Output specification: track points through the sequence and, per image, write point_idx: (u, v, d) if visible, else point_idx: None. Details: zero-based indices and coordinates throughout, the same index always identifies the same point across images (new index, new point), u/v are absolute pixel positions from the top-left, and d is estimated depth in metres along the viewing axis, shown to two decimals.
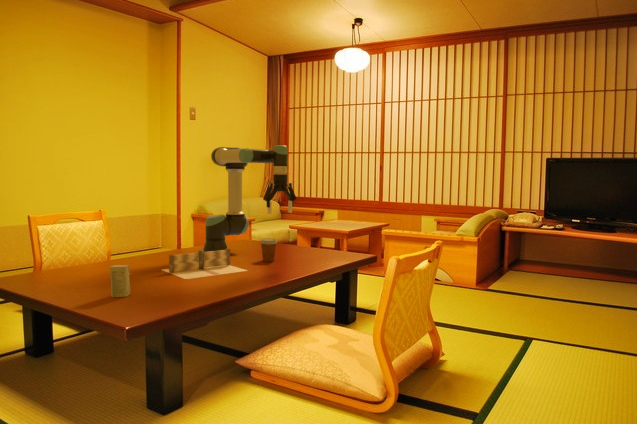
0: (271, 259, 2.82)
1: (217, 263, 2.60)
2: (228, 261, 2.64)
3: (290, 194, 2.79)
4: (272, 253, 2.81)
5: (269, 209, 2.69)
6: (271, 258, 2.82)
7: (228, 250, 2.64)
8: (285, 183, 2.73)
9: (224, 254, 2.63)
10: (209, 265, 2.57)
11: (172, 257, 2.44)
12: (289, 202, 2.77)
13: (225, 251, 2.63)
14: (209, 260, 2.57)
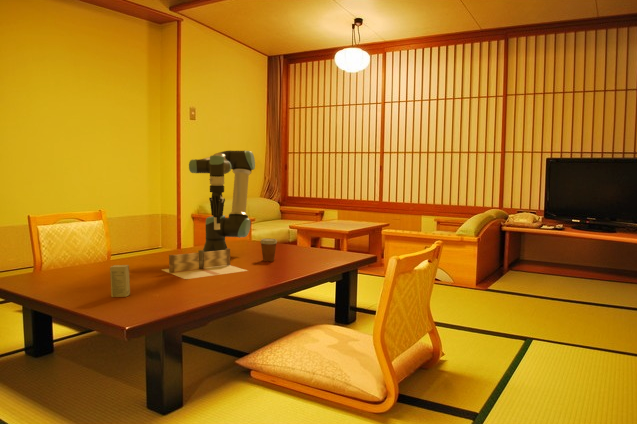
0: (271, 259, 2.82)
1: (217, 263, 2.60)
2: (228, 261, 2.64)
3: None
4: (272, 253, 2.81)
5: None
6: (271, 258, 2.82)
7: (228, 250, 2.64)
8: (218, 194, 2.60)
9: (224, 254, 2.63)
10: (209, 265, 2.57)
11: (172, 257, 2.44)
12: None
13: (225, 251, 2.63)
14: (209, 260, 2.57)
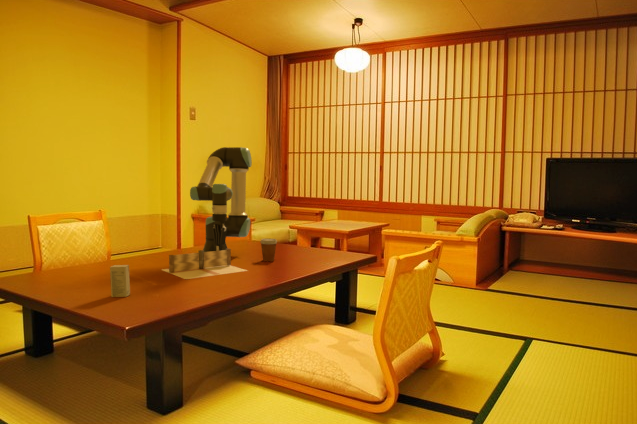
0: (271, 259, 2.82)
1: (217, 263, 2.60)
2: (228, 261, 2.64)
3: None
4: (272, 253, 2.81)
5: None
6: (271, 258, 2.82)
7: (228, 250, 2.63)
8: (220, 223, 2.59)
9: (224, 254, 2.62)
10: (209, 265, 2.57)
11: (172, 257, 2.44)
12: None
13: (225, 251, 2.63)
14: (209, 260, 2.57)
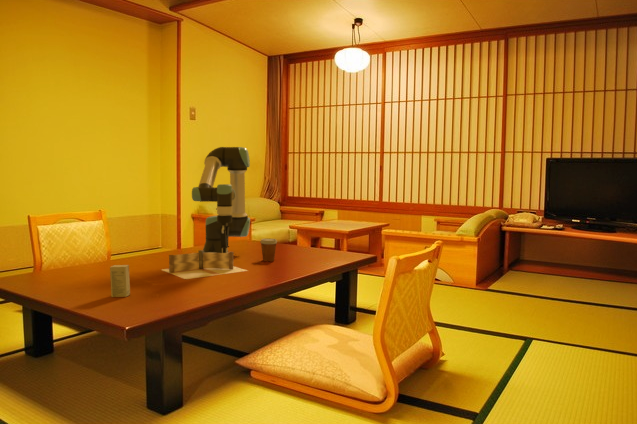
0: (271, 259, 2.82)
1: (218, 266, 2.54)
2: (230, 265, 2.53)
3: (226, 240, 2.53)
4: (272, 253, 2.81)
5: None
6: (271, 258, 2.82)
7: (230, 253, 2.53)
8: (221, 225, 2.52)
9: (226, 257, 2.53)
10: (209, 266, 2.54)
11: (172, 257, 2.44)
12: None
13: (227, 254, 2.53)
14: (209, 261, 2.54)
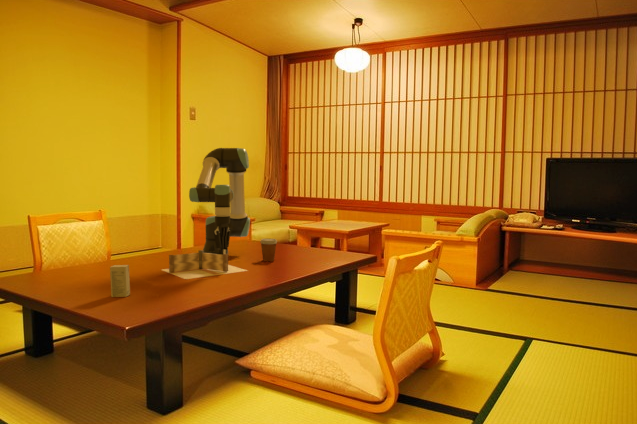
0: (271, 259, 2.82)
1: (214, 267, 2.50)
2: (224, 267, 2.47)
3: (221, 242, 2.48)
4: (272, 253, 2.81)
5: None
6: (271, 258, 2.82)
7: (224, 255, 2.47)
8: None
9: (220, 259, 2.48)
10: (207, 267, 2.52)
11: (172, 257, 2.44)
12: None
13: (221, 256, 2.48)
14: (207, 262, 2.52)
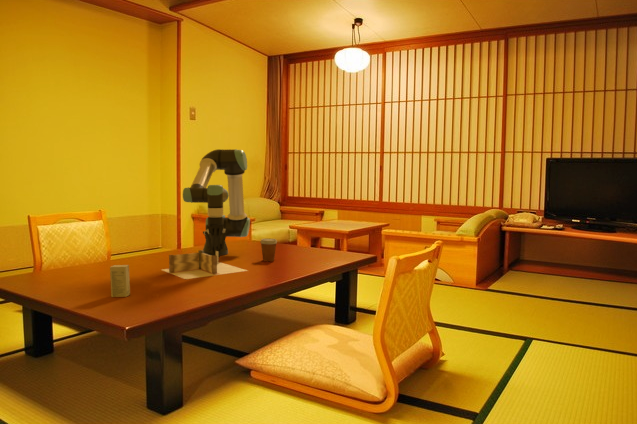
0: (271, 259, 2.82)
1: (207, 268, 2.47)
2: (212, 269, 2.42)
3: (211, 243, 2.43)
4: (272, 253, 2.81)
5: None
6: (271, 258, 2.82)
7: (212, 257, 2.42)
8: None
9: (211, 260, 2.44)
10: (203, 267, 2.51)
11: (172, 257, 2.44)
12: None
13: (211, 257, 2.43)
14: (203, 262, 2.51)
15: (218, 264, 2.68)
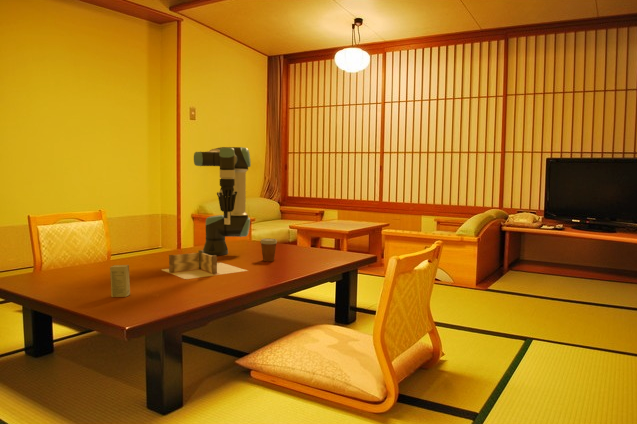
0: (271, 259, 2.82)
1: (207, 268, 2.47)
2: (212, 269, 2.42)
3: (224, 204, 2.53)
4: (272, 253, 2.81)
5: None
6: (271, 258, 2.82)
7: (212, 257, 2.42)
8: None
9: (211, 260, 2.44)
10: (203, 267, 2.51)
11: (172, 257, 2.44)
12: None
13: (211, 257, 2.43)
14: (203, 262, 2.51)
15: (218, 264, 2.68)
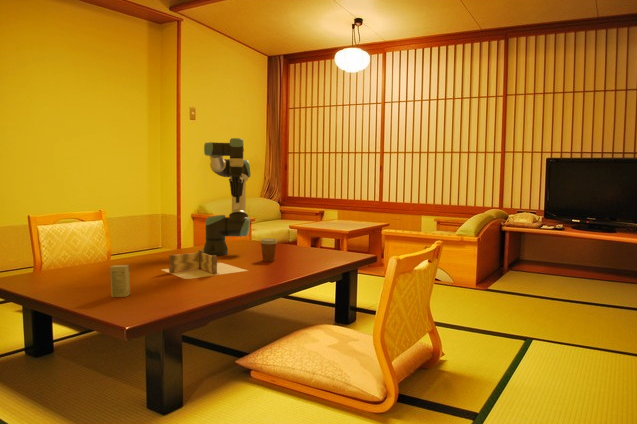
0: (271, 259, 2.82)
1: (207, 268, 2.47)
2: (212, 269, 2.42)
3: None
4: (272, 253, 2.81)
5: None
6: (271, 258, 2.82)
7: (212, 257, 2.42)
8: (237, 175, 2.75)
9: (211, 260, 2.44)
10: (203, 267, 2.51)
11: (172, 257, 2.44)
12: None
13: (211, 257, 2.43)
14: (203, 262, 2.51)
15: (218, 264, 2.68)
